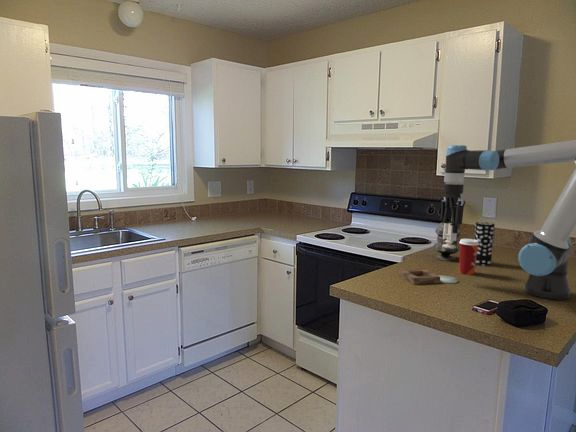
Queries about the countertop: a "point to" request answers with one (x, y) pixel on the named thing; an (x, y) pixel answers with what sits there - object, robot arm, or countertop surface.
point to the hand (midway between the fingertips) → (449, 239)
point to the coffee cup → (468, 256)
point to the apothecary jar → (444, 251)
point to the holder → (419, 276)
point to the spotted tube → (484, 242)
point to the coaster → (448, 279)
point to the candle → (449, 243)
